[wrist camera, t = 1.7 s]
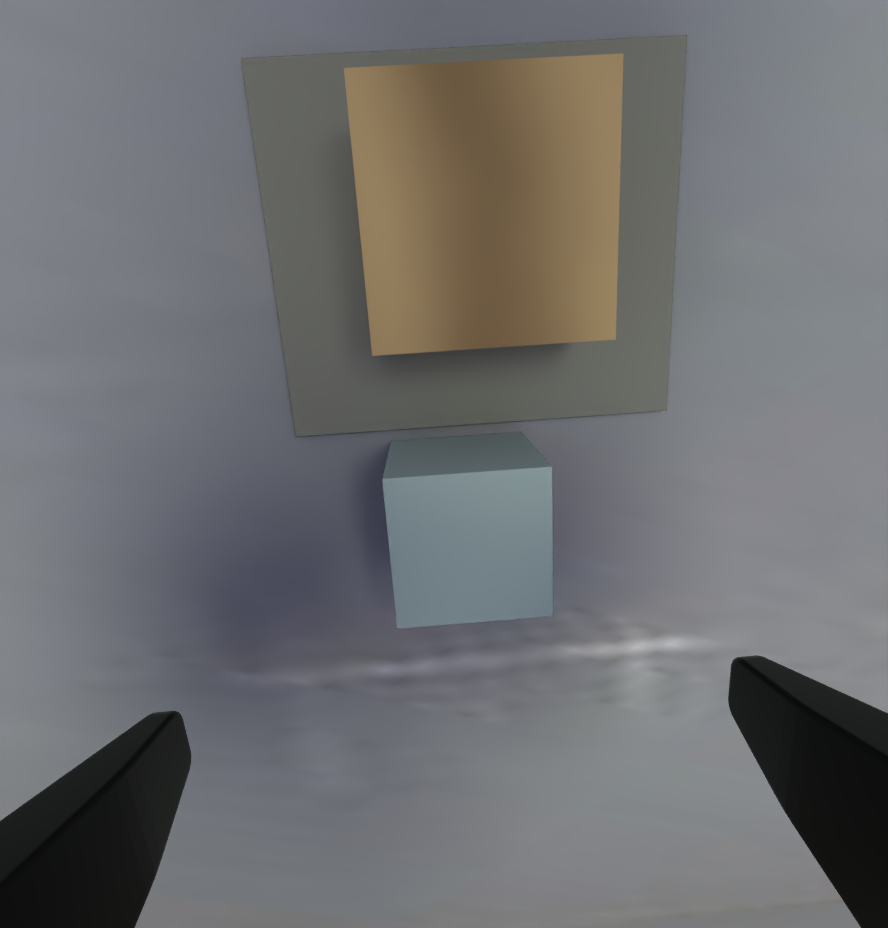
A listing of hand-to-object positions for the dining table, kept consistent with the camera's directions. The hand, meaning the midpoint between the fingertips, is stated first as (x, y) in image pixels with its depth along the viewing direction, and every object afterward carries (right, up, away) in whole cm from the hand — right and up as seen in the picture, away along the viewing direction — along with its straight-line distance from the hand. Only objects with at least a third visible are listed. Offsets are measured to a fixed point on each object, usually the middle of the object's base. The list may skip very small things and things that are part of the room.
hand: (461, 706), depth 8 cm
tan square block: (+1, +12, +9) cm, 15 cm away
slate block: (0, +3, +12) cm, 13 cm away
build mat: (+1, +11, +10) cm, 15 cm away
